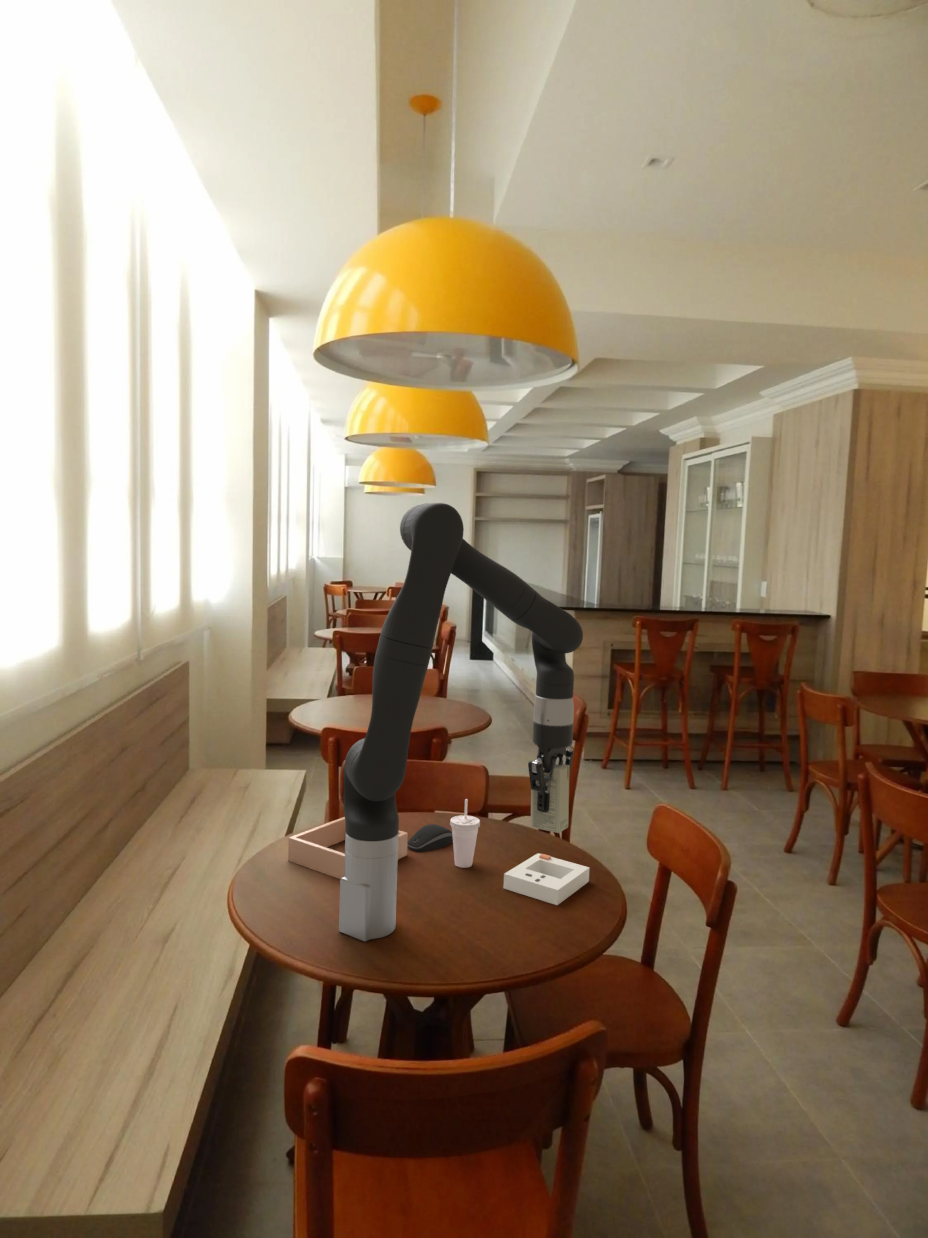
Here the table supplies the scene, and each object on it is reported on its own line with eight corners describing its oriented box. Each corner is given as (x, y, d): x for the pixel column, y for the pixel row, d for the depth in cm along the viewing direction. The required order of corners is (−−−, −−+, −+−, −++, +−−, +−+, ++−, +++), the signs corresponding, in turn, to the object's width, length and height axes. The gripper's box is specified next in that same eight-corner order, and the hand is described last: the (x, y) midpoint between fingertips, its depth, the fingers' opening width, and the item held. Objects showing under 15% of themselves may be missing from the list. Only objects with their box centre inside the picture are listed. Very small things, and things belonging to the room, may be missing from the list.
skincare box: (568, 828, 151) (571, 765, 150) (558, 834, 147) (561, 770, 146) (539, 820, 155) (541, 759, 153) (528, 827, 151) (531, 764, 150)
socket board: (557, 905, 151) (558, 887, 151) (503, 888, 158) (504, 871, 157) (588, 881, 163) (589, 865, 162) (537, 866, 169) (538, 851, 169)
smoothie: (479, 859, 172) (482, 796, 171) (477, 871, 166) (479, 806, 164) (450, 857, 172) (452, 794, 171) (446, 869, 166) (449, 804, 165)
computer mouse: (399, 847, 178) (400, 829, 178) (437, 834, 187) (438, 817, 187) (421, 856, 174) (422, 838, 173) (459, 842, 183) (460, 825, 182)
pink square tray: (349, 882, 157) (350, 858, 157) (288, 860, 167) (288, 837, 167) (407, 855, 173) (407, 833, 172) (347, 836, 182) (348, 815, 182)
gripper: (552, 729, 141) (548, 822, 143) (588, 716, 153) (584, 803, 154) (516, 722, 146) (513, 813, 147) (554, 711, 157) (550, 795, 159)
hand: (549, 807), depth 151 cm, fingers closed on skincare box, 4 cm apart
